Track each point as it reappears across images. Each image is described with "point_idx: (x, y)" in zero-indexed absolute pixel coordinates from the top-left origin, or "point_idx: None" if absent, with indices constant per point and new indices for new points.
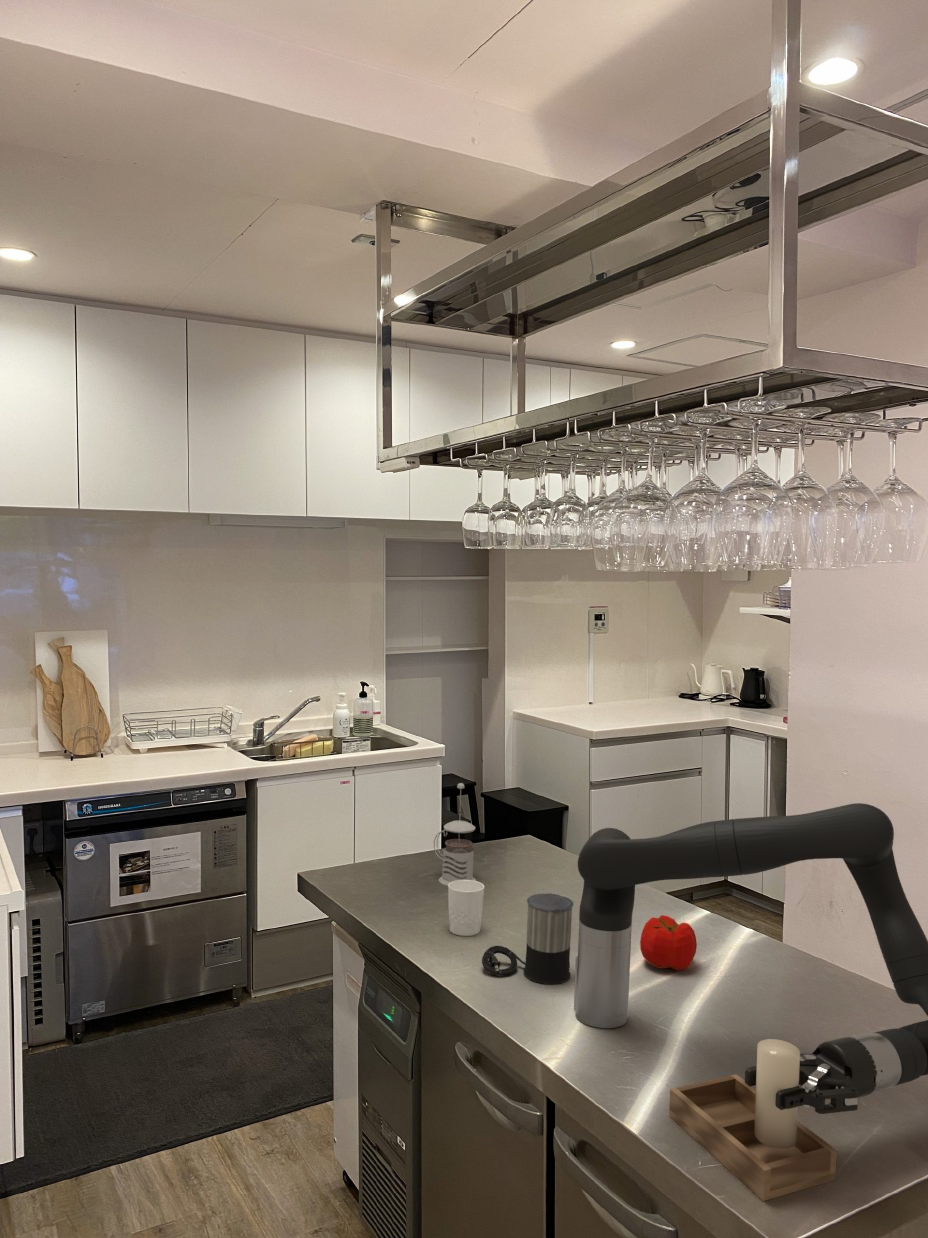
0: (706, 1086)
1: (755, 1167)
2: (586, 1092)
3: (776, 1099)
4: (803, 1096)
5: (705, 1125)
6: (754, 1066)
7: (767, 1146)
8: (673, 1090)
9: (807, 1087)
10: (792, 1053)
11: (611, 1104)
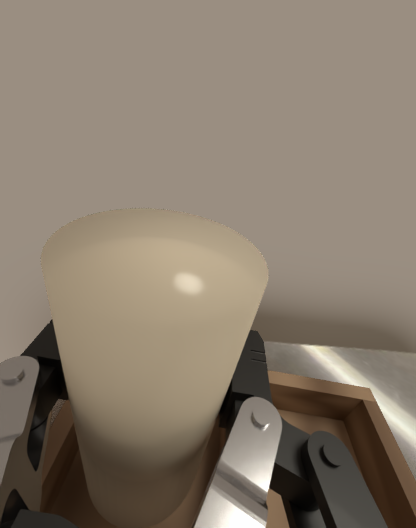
0: (400, 486)
1: None
2: (401, 354)
3: None
4: (24, 354)
5: None
6: (264, 361)
7: (184, 509)
8: (364, 389)
9: (7, 367)
10: (86, 251)
11: (373, 362)
